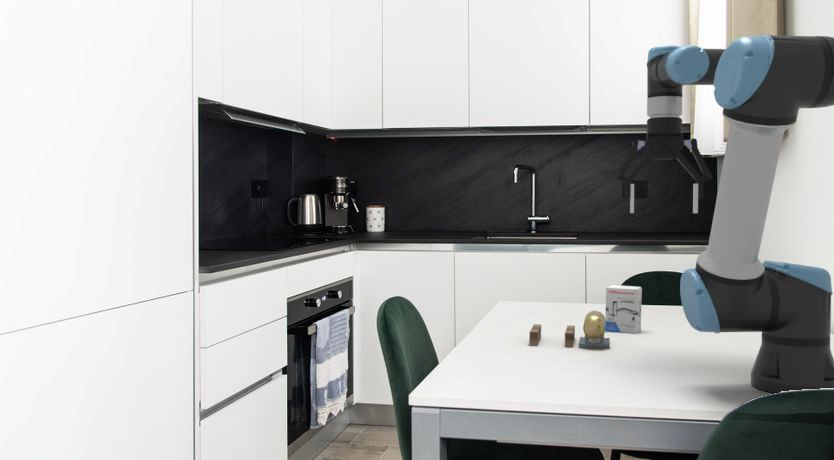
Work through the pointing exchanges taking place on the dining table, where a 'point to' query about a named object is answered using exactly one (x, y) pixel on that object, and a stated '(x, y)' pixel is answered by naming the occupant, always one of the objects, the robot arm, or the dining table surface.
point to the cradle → (594, 343)
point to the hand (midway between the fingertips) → (663, 213)
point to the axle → (594, 325)
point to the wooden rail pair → (536, 335)
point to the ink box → (623, 309)
